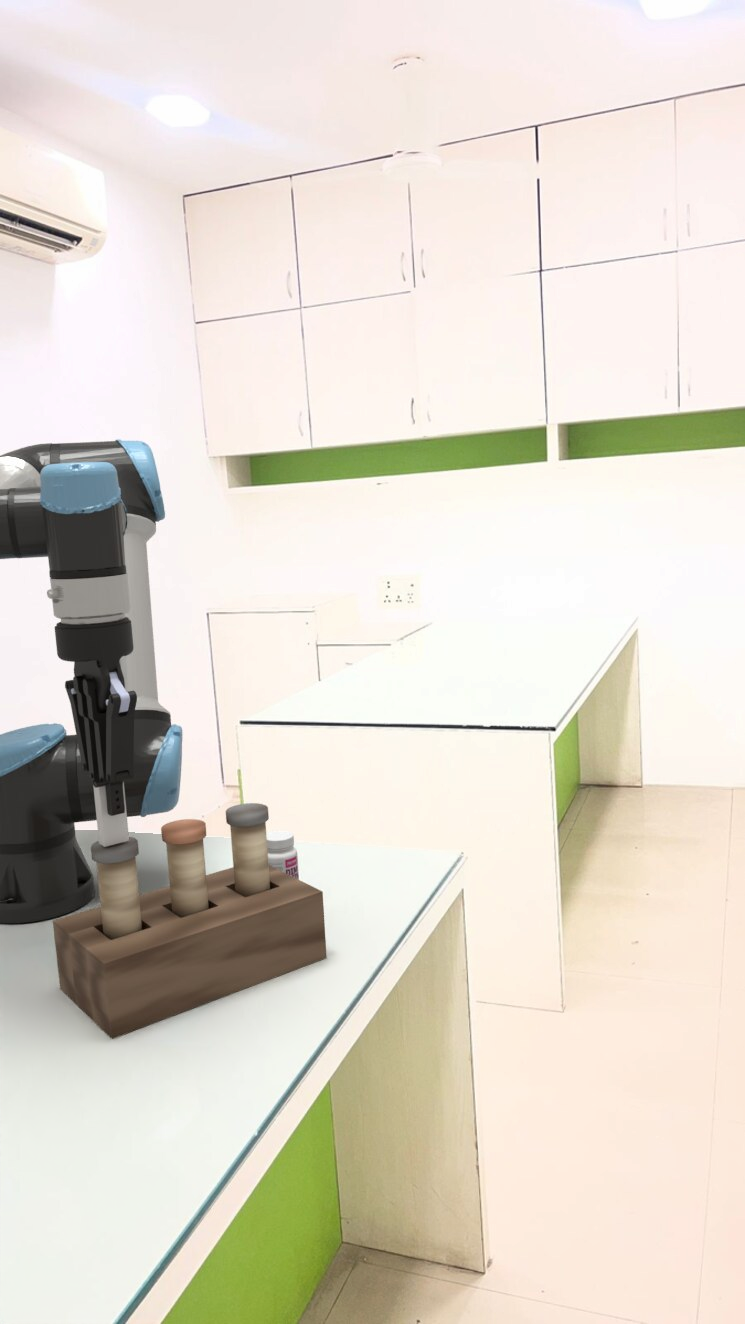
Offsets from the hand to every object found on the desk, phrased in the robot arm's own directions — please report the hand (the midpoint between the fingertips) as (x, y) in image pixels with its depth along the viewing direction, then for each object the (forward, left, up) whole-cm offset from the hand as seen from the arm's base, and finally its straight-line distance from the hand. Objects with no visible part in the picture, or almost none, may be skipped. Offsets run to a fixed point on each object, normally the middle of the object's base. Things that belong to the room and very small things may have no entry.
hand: (114, 841), depth 109 cm
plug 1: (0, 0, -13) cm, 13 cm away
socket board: (0, +8, -18) cm, 19 cm away
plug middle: (0, +8, -13) cm, 15 cm away
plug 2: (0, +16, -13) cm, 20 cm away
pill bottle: (-12, +27, -18) cm, 35 cm away
